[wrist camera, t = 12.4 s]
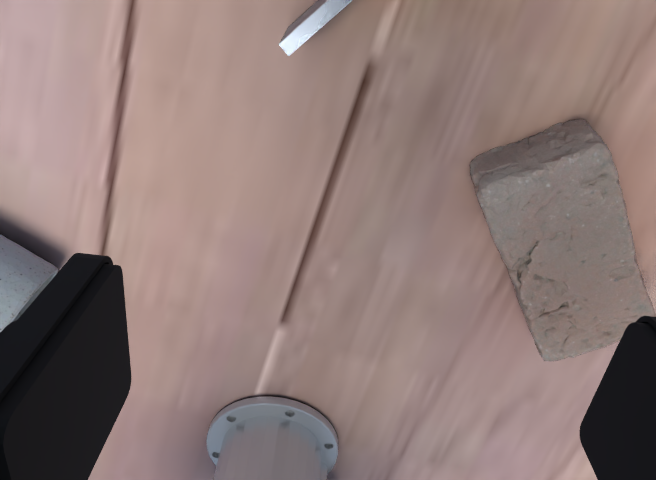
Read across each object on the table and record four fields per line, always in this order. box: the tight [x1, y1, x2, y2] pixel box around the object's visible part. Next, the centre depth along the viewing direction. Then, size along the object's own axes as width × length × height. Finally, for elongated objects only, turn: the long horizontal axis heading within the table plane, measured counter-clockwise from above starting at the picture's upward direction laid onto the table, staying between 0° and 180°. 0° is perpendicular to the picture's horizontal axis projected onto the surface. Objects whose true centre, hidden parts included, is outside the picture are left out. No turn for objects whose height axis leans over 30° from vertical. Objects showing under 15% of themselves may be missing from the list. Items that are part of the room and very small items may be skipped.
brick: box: [470, 119, 656, 361], centre depth 39 cm, size 17×8×5 cm, turn 27°
